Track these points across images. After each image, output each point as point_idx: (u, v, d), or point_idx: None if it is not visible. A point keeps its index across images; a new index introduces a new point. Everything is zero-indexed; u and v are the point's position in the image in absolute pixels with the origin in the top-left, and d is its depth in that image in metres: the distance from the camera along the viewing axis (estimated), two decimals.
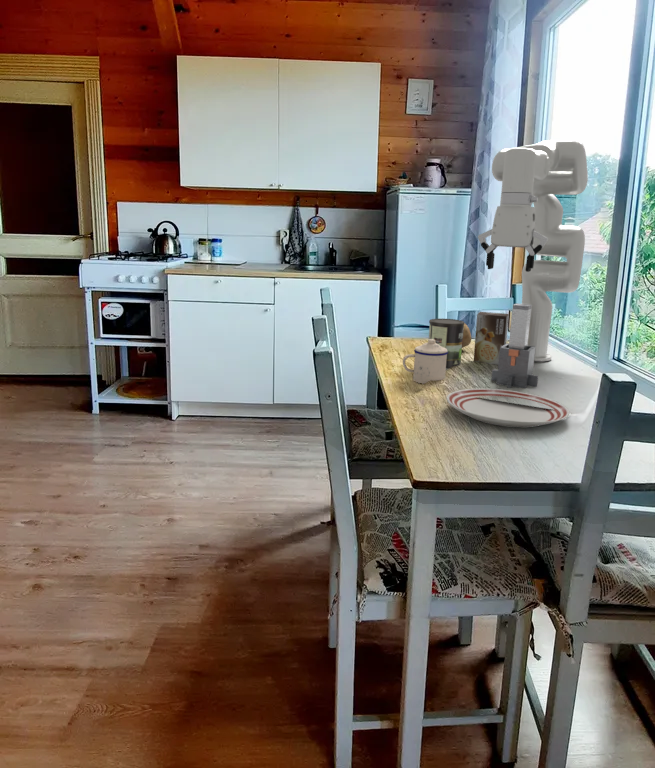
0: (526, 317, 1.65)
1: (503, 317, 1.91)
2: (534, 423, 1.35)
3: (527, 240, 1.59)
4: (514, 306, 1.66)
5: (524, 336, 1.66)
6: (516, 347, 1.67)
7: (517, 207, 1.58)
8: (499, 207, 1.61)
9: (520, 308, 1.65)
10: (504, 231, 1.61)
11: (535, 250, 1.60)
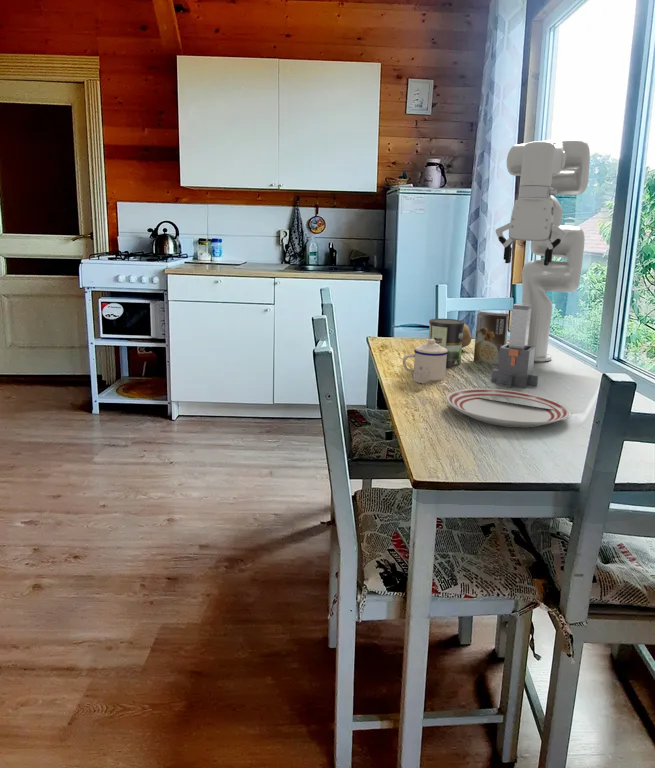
0: (526, 317, 1.65)
1: (503, 317, 1.91)
2: (534, 423, 1.35)
3: (546, 234, 1.58)
4: (514, 306, 1.66)
5: (524, 336, 1.66)
6: (516, 347, 1.67)
7: (536, 200, 1.58)
8: (517, 201, 1.60)
9: (520, 308, 1.65)
10: (522, 225, 1.60)
11: (554, 243, 1.59)
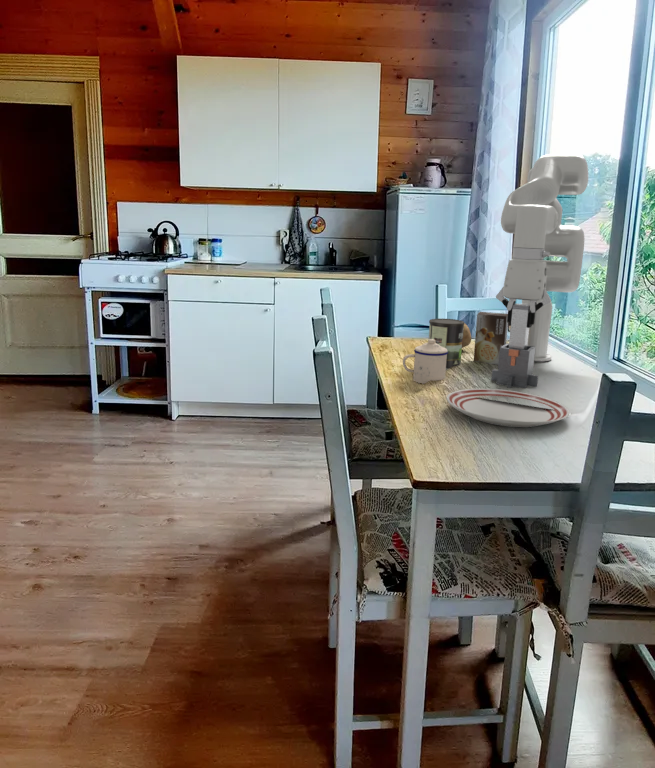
0: (526, 317, 1.65)
1: (503, 317, 1.91)
2: (534, 423, 1.35)
3: (539, 294, 1.62)
4: (514, 306, 1.66)
5: (524, 336, 1.66)
6: (516, 347, 1.67)
7: (529, 262, 1.61)
8: (511, 261, 1.64)
9: (520, 308, 1.65)
10: (516, 285, 1.64)
11: (536, 307, 1.65)
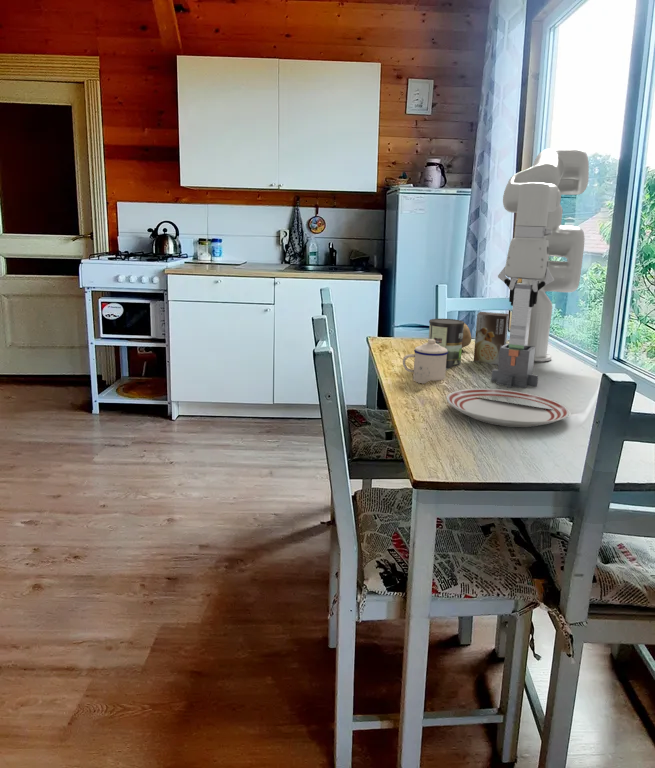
0: (528, 296, 1.64)
1: (503, 317, 1.91)
2: (534, 423, 1.35)
3: (541, 273, 1.61)
4: (516, 285, 1.65)
5: (526, 316, 1.65)
6: (518, 327, 1.66)
7: (531, 240, 1.60)
8: (513, 240, 1.62)
9: (522, 287, 1.64)
10: (518, 264, 1.63)
11: (538, 286, 1.63)
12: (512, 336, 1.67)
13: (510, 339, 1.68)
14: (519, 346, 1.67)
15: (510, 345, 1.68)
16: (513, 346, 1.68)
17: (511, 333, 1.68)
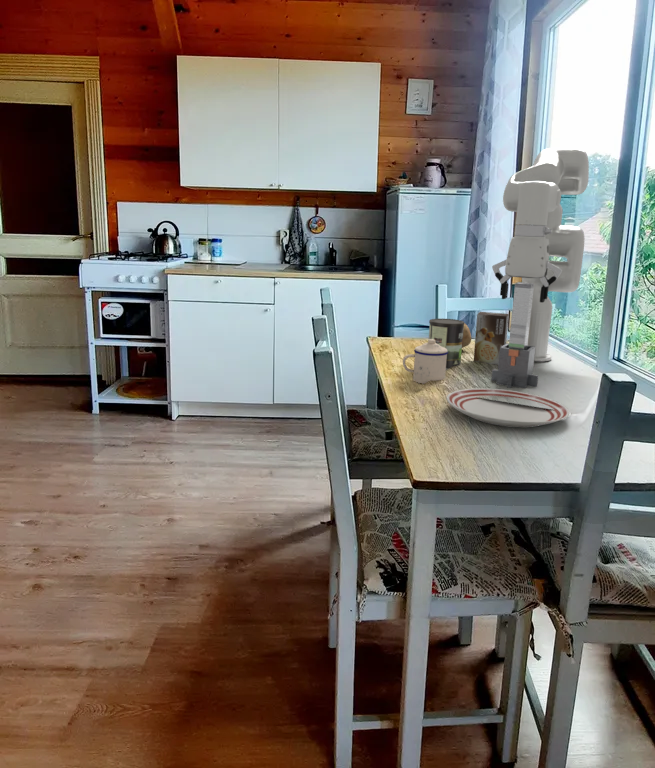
0: (528, 295, 1.64)
1: (503, 317, 1.91)
2: (534, 423, 1.35)
3: (541, 272, 1.61)
4: (516, 284, 1.65)
5: (526, 315, 1.65)
6: (518, 326, 1.66)
7: (531, 239, 1.60)
8: (513, 239, 1.62)
9: (522, 286, 1.64)
10: (518, 262, 1.63)
11: (549, 281, 1.62)
12: (512, 335, 1.67)
13: (510, 338, 1.68)
14: (519, 345, 1.67)
15: (510, 344, 1.68)
16: (513, 345, 1.68)
17: (511, 332, 1.68)
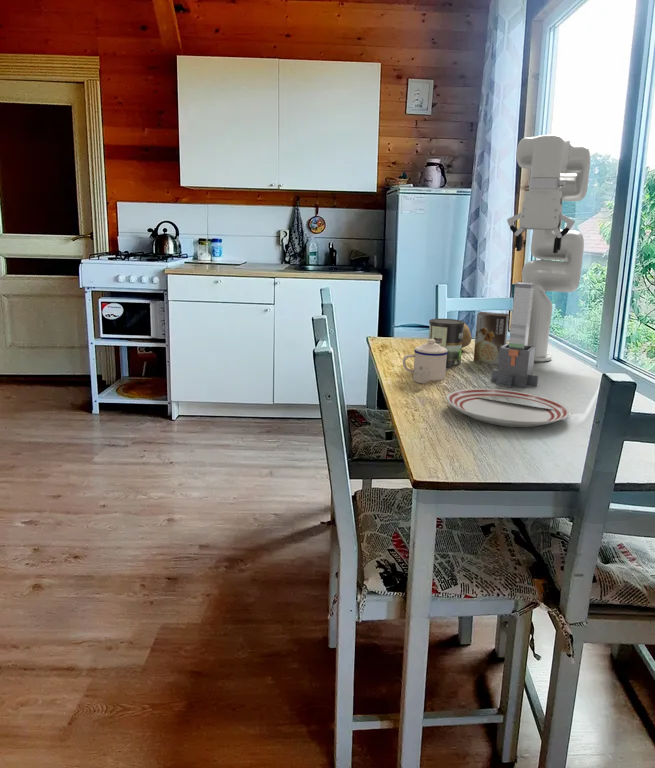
0: (528, 295, 1.64)
1: (503, 317, 1.91)
2: (534, 423, 1.35)
3: (555, 223, 1.68)
4: (516, 284, 1.65)
5: (526, 315, 1.65)
6: (518, 326, 1.66)
7: (545, 192, 1.66)
8: (528, 192, 1.69)
9: (522, 286, 1.64)
10: (532, 215, 1.70)
11: (562, 232, 1.68)
12: (512, 335, 1.67)
13: (510, 338, 1.68)
14: (519, 345, 1.67)
15: (510, 344, 1.68)
16: (513, 345, 1.68)
17: (511, 332, 1.68)
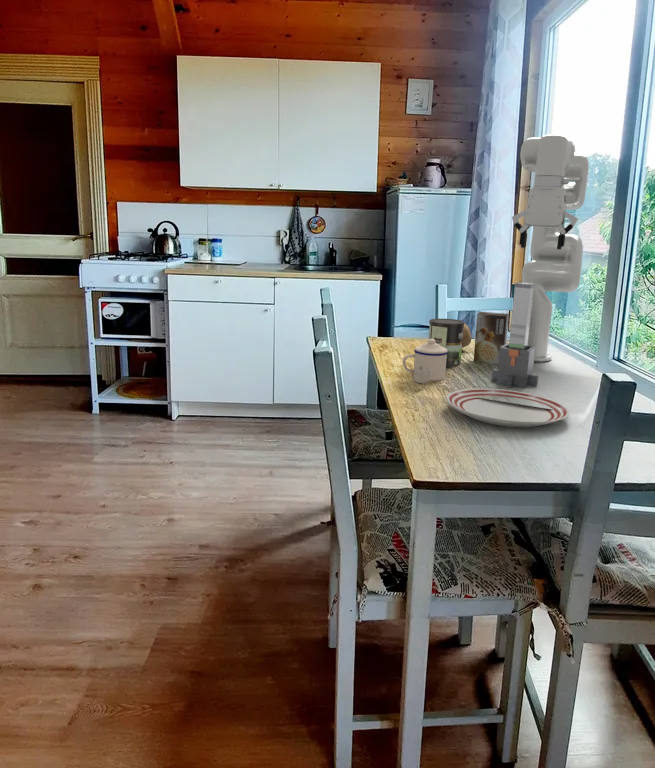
0: (528, 295, 1.64)
1: (503, 317, 1.91)
2: (534, 423, 1.35)
3: (559, 220, 1.72)
4: (516, 284, 1.65)
5: (526, 315, 1.65)
6: (518, 326, 1.66)
7: (550, 189, 1.71)
8: (533, 189, 1.74)
9: (522, 286, 1.64)
10: (537, 212, 1.74)
11: (566, 229, 1.73)
12: (512, 335, 1.67)
13: (510, 338, 1.68)
14: (519, 345, 1.67)
15: (510, 344, 1.68)
16: (513, 345, 1.68)
17: (511, 332, 1.68)
